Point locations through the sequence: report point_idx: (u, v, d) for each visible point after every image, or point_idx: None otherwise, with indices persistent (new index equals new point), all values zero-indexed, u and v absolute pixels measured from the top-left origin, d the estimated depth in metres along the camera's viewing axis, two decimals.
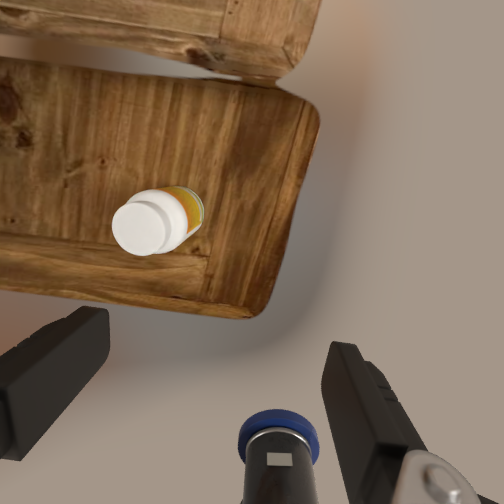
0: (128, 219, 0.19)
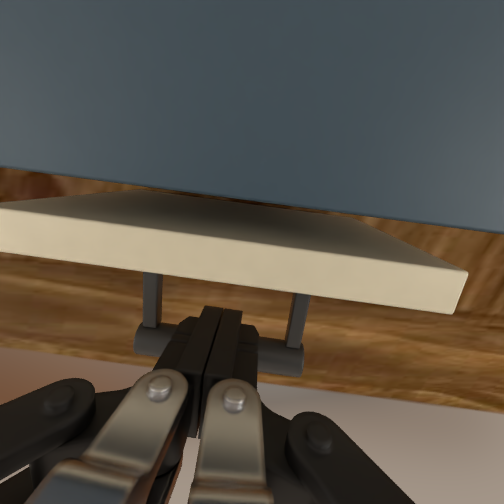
0: None
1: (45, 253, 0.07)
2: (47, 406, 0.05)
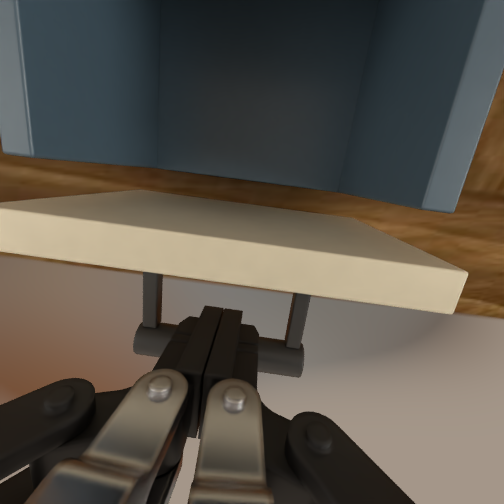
0: None
1: (45, 253, 0.07)
2: (47, 405, 0.05)
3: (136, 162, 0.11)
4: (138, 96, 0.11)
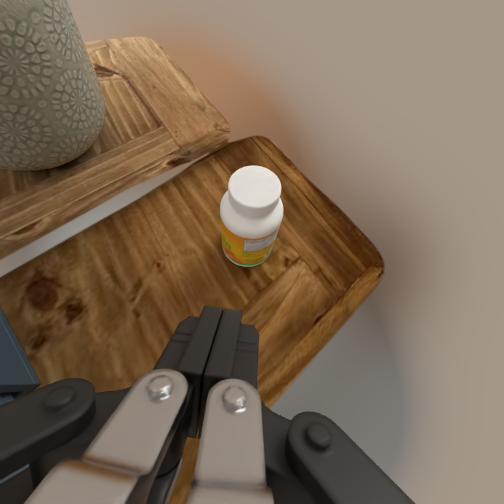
0: (241, 184, 0.19)
1: None
2: (46, 406, 0.05)
3: None
4: None
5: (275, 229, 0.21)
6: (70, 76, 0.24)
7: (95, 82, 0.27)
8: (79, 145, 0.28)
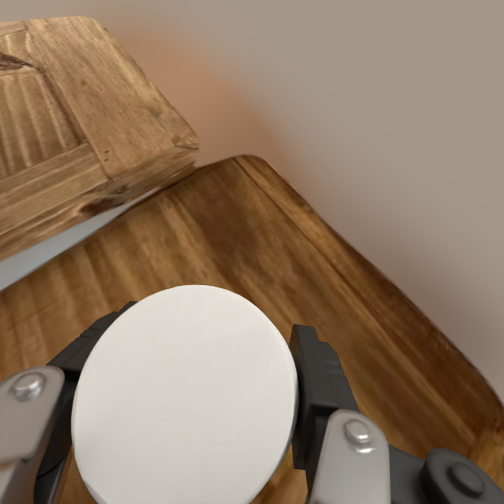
0: (131, 385, 0.05)
1: None
2: None
3: None
4: None
5: None
6: None
7: None
8: None
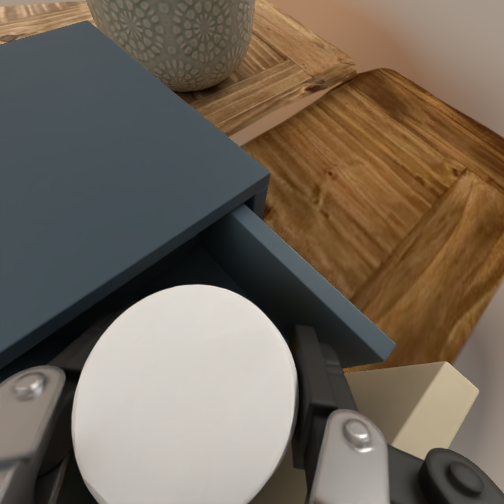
0: (132, 384, 0.05)
1: None
2: None
3: None
4: None
5: None
6: None
7: None
8: (237, 60, 0.27)
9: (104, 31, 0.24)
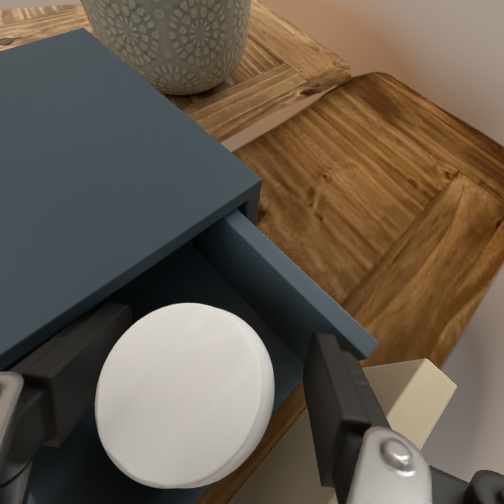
0: (139, 381, 0.06)
1: None
2: None
3: None
4: (131, 480, 0.11)
5: None
6: None
7: None
8: (232, 65, 0.28)
9: (100, 36, 0.24)
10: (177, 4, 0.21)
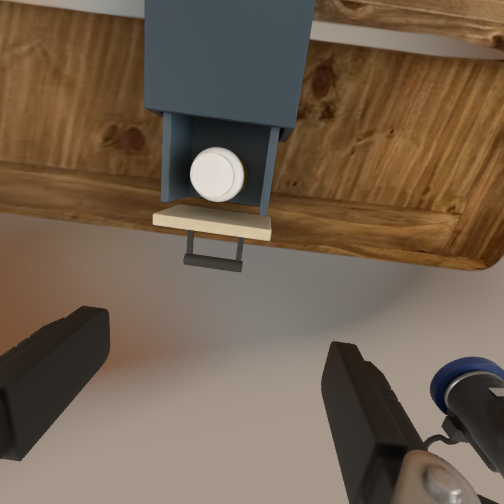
0: (204, 166, 0.23)
1: (169, 225, 0.27)
2: None
3: (183, 196, 0.32)
4: (185, 174, 0.31)
5: None
6: None
7: None
8: None
9: None
10: None
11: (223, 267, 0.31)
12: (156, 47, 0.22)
